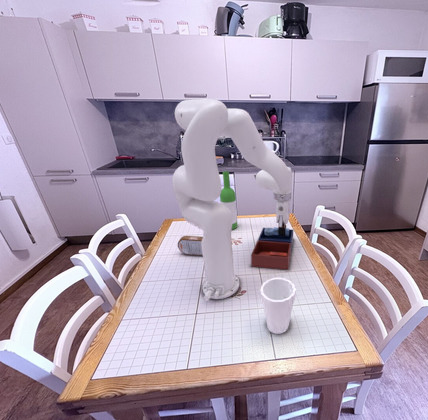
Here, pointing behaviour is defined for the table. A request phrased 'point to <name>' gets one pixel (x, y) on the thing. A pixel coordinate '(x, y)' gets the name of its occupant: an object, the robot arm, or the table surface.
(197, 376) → the table surface
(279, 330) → the foam cup
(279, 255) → the red spoon
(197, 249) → the tin
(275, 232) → the blue spoon
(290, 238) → the blue bin
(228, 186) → the wine bottle
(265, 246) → the red bin
